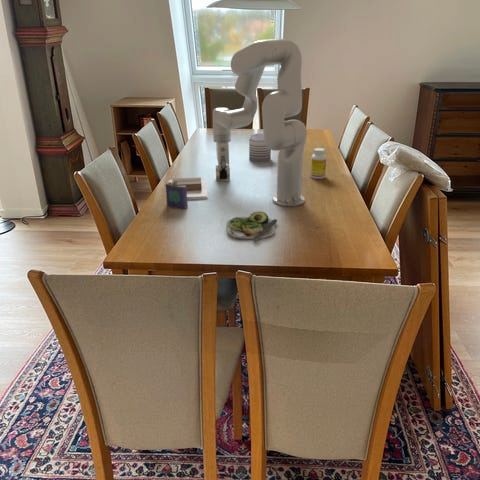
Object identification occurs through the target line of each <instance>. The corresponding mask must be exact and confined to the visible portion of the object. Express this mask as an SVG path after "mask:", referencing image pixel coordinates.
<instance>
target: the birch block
mask: <svg viewBox="0 0 480 480" xmlns="http://www.w3.org/2000/svg"><path fill="white" fill-rule="evenodd" d="M226 168H227V179H220V165H218V164H217V165H216V164H215V179H216V180H217V181H216V182H228V181H227V180H230V181H231V169H230V168H231V167H230V164H229V165H228V164H226Z"/></svg>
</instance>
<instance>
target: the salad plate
mask: <svg viewBox="0 0 480 480" xmlns="http://www.w3.org/2000/svg"><path fill="white" fill-rule="evenodd" d="M277 222H278V219H276V218H274V219H271V218H269V216H268V214H267V213H266V212H264V211H253V212H252V213H250V216H235V217H231V218H230V219H228V220H227V221H226V233H227V234H228V235H229V236H230V237H232V238H233V239H237V240H240V239H241V241H254V242H257V241H260V240H262V239H266V238H268V237H272V236H273V235H275V232H276V229H275V225H276V224H277ZM233 229H234V230H233ZM233 231H237V232H238V231H239V232H241V231H242V232H243V233H244V235H238V234H236V233H235V232H233ZM234 233H235V234H234ZM245 235H246V236H245Z"/></svg>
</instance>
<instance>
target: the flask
mask: <svg viewBox="0 0 480 480" xmlns="http://www.w3.org/2000/svg"><path fill="white" fill-rule="evenodd" d="M173 182H174V183H171V182H170V183H169V182H166V183H165V193H166V196H165V197H166V206H167V207H169V208H174V209H181V210H187V209H188V208H189V207H188V206H189V205H188V200H187V187H186V186H185V185H178V184H177V182H178V181H177V180H176V181H175V180H174V181H173Z"/></svg>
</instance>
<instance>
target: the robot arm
mask: <svg viewBox="0 0 480 480" xmlns="http://www.w3.org/2000/svg"><path fill="white" fill-rule="evenodd" d="M302 61H303V58H302V52H301V50H300V47H299V46H298V44H296V43H295V41H292V40H290V39H288V38H287V39H285V38H276V39H275V38H273V39H260V40H257V41H256V40H255V41H254V42H252V43H250V44H248V45H246V46H245V47H243V48H241V49H239V50H237V51H236V52H235V53H234V54H233V55H232V57H231V60H230V69H231V71H232V72H233V74H235V75H236V76H237V78H236V81H235V83H234V89H235V91H236V92H237V93H239V95H242V96H243V97H244V102H243V103H242V104H243V105H242V106H241V108H238V109H237V108H236V109H232V110H231V109H230V108H228V107H216V108H215V107H214V109H213V110H212V137H213V143H215V147H216V159H217V165H220V179H227V168H226V165H229V166H230V147H229V145H230V144H229V143H230V142H232V141H231V138H232V137H231V136H232V134H231V130H236V129H241V128H244V127H248V126H250V124H251V123H252V122H253V120H254V118H255V116H256V113H257V111H258V98H257V94H256V92H257V88H258V86H259V83H260V81H261V78H262V76H263V73H264V72H265V68H266V67H267V66H268V67H269V66H274V65H275V66H276V65H280V67H279V70H278V73H277V78H276V79H277V80H276V82H277V90H276V91H272V92H270V93H268V94H267V95H266V96H265V97H264V99H263V101H262V104H261V117H262V118H261V119H262V134H264V140H265V143H266V145H267V147H268V148H269V149H271V151H275V152H276V151H278V155H277V176H276V180H277V181H276V194H275V195H273V197H272V202H273V203H274V204H276V205H278V206H283V207H297V206H301V205H303V204H304V203H305V201H306V200H305V197H304V196H303V195H302V182H303V163H304V152H305V151H304V150H305V147H306V143H307V142H306V141H307V139H308V138H307V137H308V130H307V127H306V125H305V123H303V122H302V121H301V120H298V119H289V120H285V119H287V118H291V117H294V116H297V115H299V113H301V111H302V108H303V93H302V91H303V90H302V87H303V86H302V63H303V62H302Z"/></svg>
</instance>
